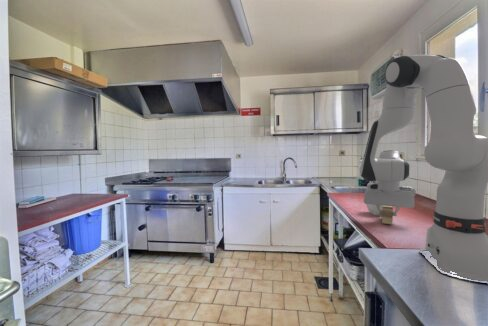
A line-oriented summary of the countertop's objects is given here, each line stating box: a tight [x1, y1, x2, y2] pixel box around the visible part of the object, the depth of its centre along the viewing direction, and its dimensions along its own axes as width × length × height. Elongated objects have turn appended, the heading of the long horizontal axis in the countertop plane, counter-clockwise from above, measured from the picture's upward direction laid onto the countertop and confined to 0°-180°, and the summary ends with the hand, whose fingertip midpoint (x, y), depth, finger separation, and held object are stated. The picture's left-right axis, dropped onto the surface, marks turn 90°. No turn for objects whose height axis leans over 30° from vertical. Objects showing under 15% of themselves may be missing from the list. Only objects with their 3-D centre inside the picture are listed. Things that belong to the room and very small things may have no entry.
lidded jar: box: [366, 204, 383, 217], centre depth 127 cm, size 11×11×9 cm
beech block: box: [381, 205, 394, 225], centre depth 113 cm, size 12×4×6 cm, turn 149°
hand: (387, 215), depth 113 cm, fingers closed on beech block, 4 cm apart
